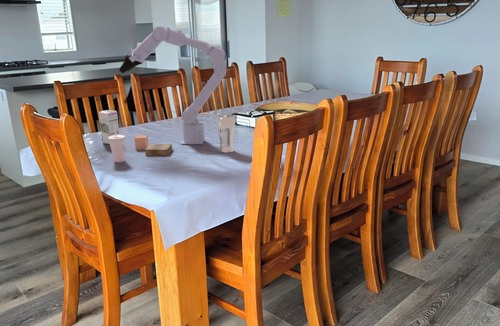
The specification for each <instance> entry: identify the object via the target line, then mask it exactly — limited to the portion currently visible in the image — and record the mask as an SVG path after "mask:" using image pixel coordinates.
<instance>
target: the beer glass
mask: <svg viewBox="0 0 500 326" xmlns="http://www.w3.org/2000/svg"><path fill="white" fill-rule="evenodd" d="M235 127H236V125H235V115H234V114H231V113H230V114H229V113H227V114H226V113H223V114H218V115H217V130H218V131H217V132H218V137H219V140H220V141H219V142H220V143H219V144H220V145H219V152H220V153H222V154H231V153H234V152H235V148H234V137H235V136H234V135H235V132H236V131H235V130H236V129H235Z"/></svg>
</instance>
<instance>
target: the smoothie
mask: <svg viewBox="0 0 500 326" xmlns="http://www.w3.org/2000/svg"><path fill="white" fill-rule="evenodd" d="M114 132H115V135H113V136H109V137H108V140H109V142H110V145H109V146H110V150H111V154H112V158H113V162H114V163H122V162H123V163H124V162H125V142H126V141H125V140H126V135H123V134H119V135H116V126H115V125H114Z"/></svg>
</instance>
